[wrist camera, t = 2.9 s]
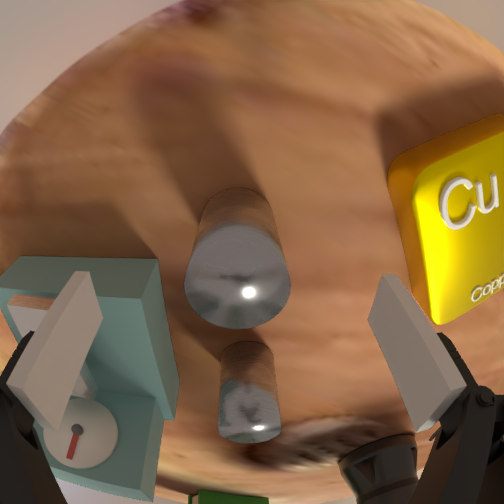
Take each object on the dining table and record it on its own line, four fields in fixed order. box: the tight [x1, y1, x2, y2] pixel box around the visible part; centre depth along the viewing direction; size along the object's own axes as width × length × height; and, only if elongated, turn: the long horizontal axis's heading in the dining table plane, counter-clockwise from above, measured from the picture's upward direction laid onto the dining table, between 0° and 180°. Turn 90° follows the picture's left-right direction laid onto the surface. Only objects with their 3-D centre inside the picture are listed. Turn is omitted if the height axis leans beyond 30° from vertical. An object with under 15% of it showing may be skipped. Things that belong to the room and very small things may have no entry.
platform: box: [7, 294, 98, 400], centre depth 18 cm, size 9×4×3 cm, turn 178°
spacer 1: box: [184, 188, 291, 329], centre depth 18 cm, size 5×5×8 cm
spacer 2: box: [218, 341, 282, 443], centre depth 25 cm, size 5×5×8 cm
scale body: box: [0, 256, 180, 502], centre depth 20 cm, size 15×14×14 cm
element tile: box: [387, 114, 504, 325], centre depth 20 cm, size 15×15×5 cm
